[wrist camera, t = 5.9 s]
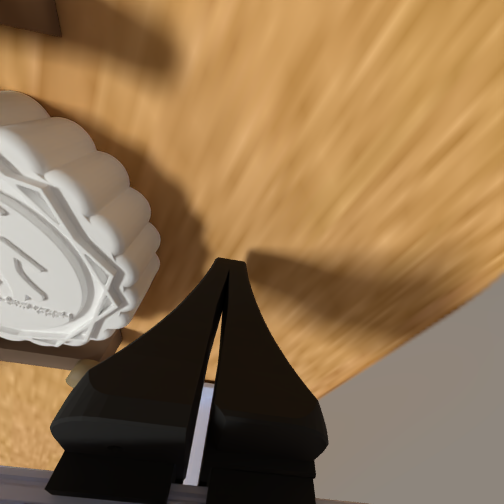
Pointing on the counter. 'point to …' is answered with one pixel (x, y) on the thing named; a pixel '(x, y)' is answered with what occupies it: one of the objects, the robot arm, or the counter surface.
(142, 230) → the mooncake
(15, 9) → the lid holder
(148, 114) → the counter surface
